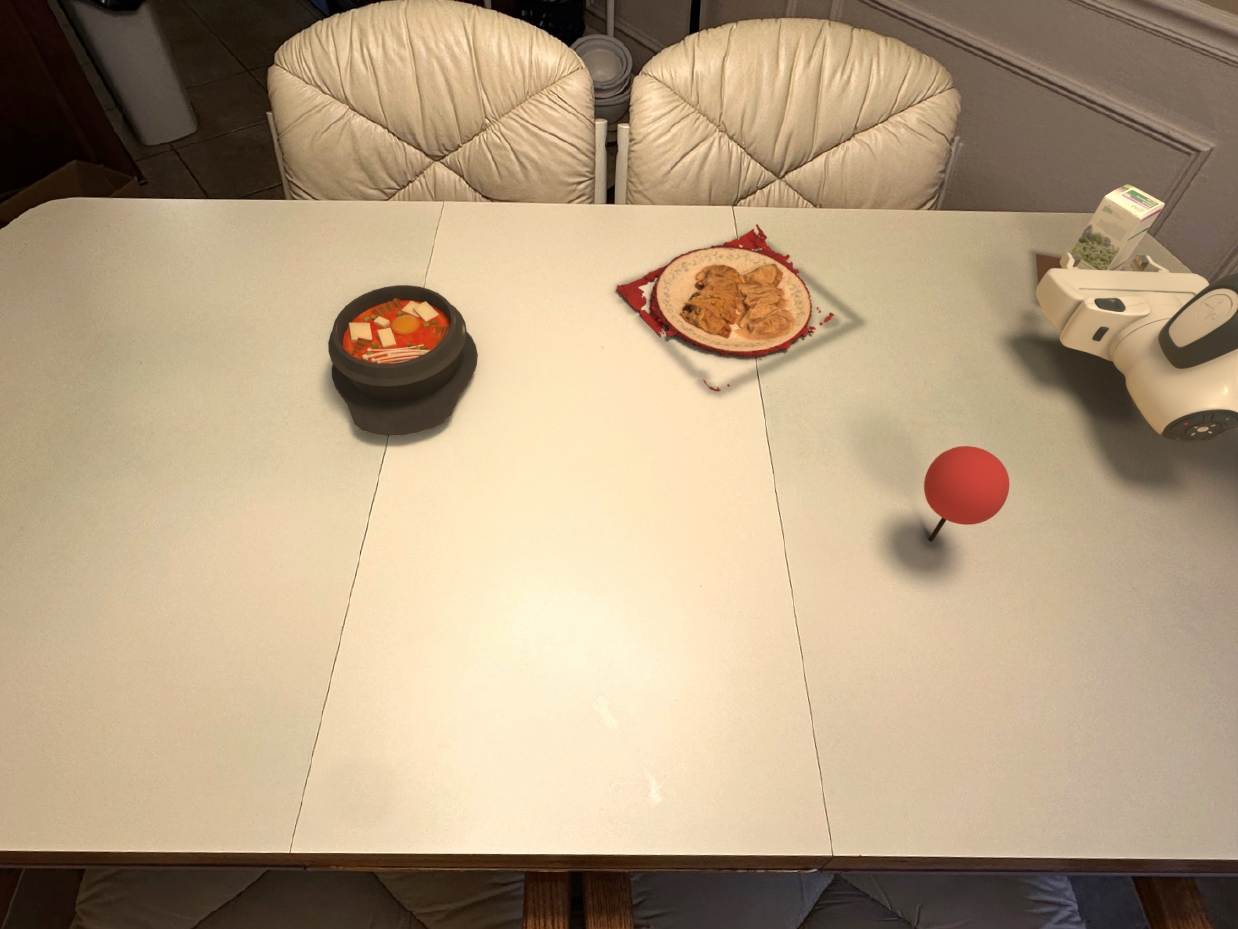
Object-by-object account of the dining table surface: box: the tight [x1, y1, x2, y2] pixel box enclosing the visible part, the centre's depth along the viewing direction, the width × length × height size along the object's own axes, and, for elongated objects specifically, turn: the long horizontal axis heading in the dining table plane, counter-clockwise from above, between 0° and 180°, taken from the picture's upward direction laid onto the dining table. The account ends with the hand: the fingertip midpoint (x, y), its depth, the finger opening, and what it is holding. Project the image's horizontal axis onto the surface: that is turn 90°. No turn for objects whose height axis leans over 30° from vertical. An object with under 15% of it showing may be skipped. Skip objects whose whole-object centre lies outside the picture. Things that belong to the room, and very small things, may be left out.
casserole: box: [327, 284, 479, 436], centre depth 94 cm, size 25×19×8 cm
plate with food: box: [616, 223, 835, 391], centre depth 105 cm, size 24×26×4 cm
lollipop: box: [923, 445, 1010, 543], centre depth 77 cm, size 8×8×15 cm
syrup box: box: [1061, 183, 1166, 271], centre depth 104 cm, size 6×6×14 cm
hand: (1103, 257), depth 98 cm, fingers open, 8 cm apart
